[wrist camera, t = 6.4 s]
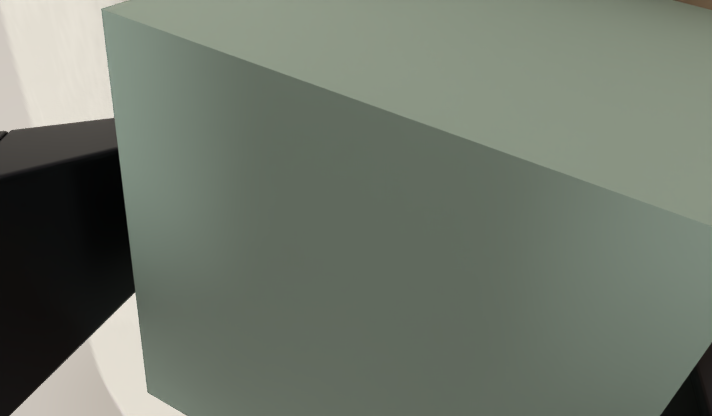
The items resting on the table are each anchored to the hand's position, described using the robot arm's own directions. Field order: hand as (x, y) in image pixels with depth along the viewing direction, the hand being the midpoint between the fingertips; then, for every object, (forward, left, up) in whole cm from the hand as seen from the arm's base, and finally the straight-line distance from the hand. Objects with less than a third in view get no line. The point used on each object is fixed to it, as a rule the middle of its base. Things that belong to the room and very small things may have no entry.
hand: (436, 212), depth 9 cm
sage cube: (0, 0, -3) cm, 3 cm away
